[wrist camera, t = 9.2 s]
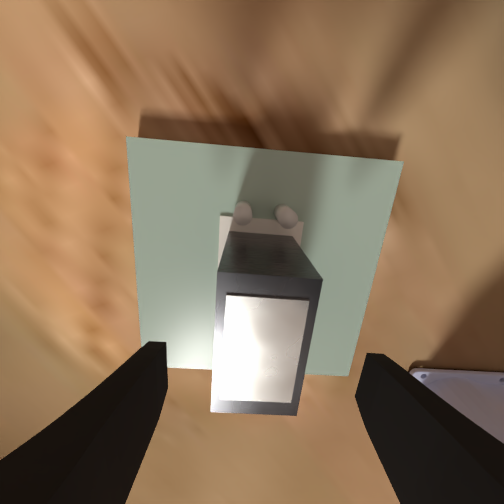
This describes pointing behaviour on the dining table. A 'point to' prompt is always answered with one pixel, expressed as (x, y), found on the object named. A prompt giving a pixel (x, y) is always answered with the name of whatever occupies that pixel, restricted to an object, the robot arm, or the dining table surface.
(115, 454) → the robot arm
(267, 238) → the block
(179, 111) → the dining table surface
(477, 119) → the dining table surface
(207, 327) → the pin tray
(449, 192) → the dining table surface
